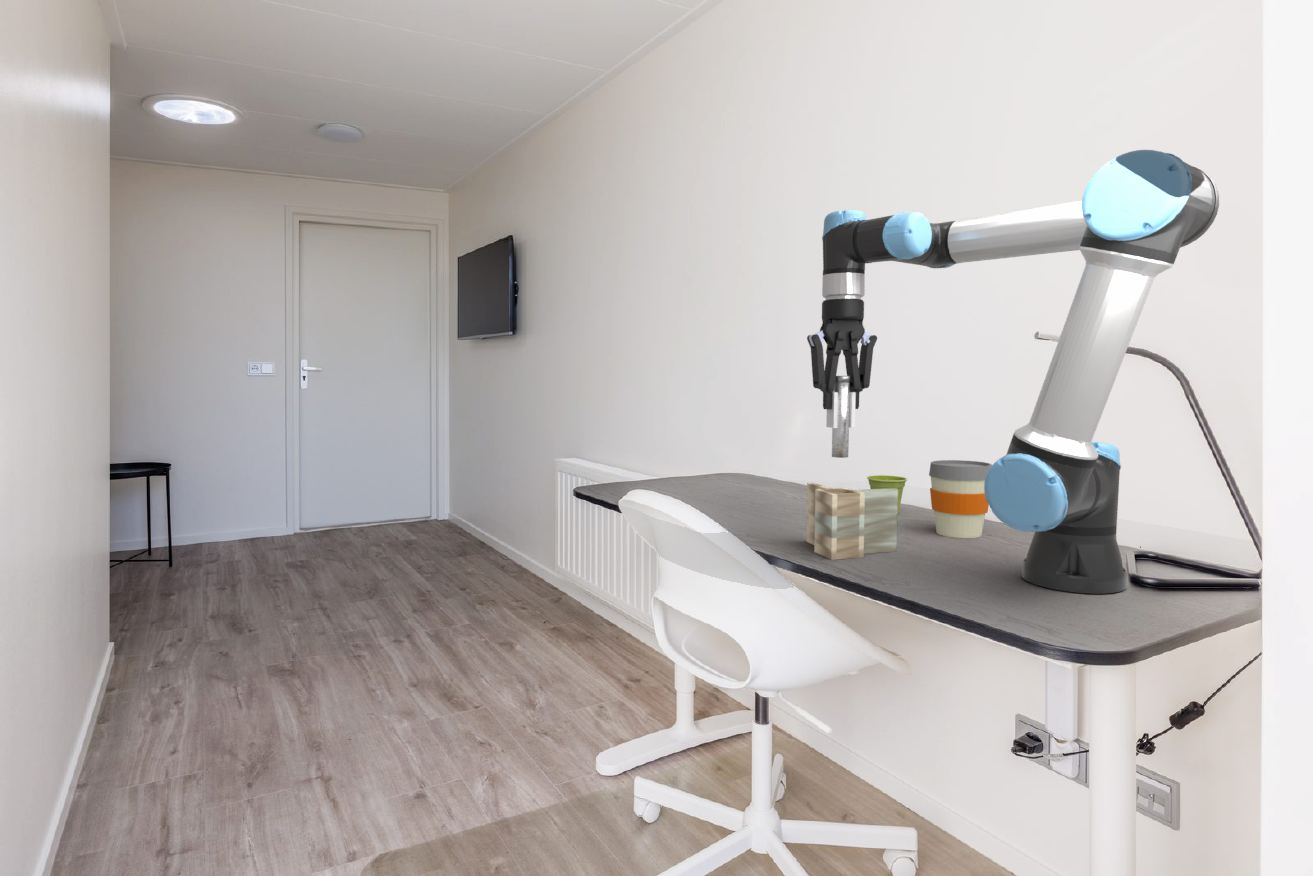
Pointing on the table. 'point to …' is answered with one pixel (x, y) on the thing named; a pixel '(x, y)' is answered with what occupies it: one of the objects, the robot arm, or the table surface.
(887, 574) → the table surface
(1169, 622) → the table surface
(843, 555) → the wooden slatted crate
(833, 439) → the hinge pin
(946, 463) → the reusable coffee cup
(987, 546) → the table surface
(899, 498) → the plant pot
